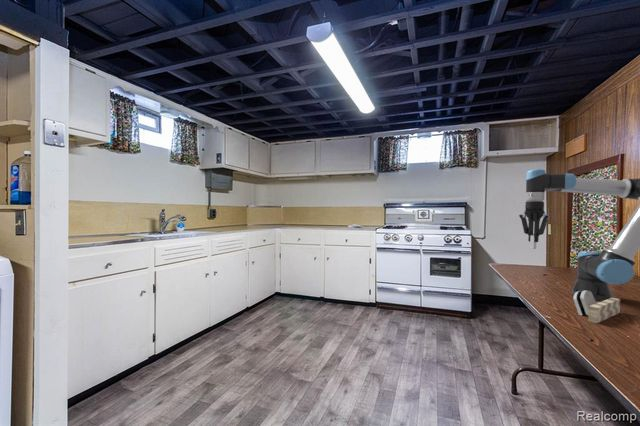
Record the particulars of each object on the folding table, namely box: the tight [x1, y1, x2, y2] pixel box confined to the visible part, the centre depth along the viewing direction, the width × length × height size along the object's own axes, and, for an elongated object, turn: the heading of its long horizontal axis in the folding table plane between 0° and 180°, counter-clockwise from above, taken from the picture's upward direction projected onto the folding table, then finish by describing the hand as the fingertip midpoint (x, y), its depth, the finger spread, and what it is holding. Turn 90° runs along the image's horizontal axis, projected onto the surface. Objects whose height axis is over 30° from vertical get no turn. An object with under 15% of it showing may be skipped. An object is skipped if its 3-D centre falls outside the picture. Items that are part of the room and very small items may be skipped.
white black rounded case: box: [572, 291, 597, 316], centre depth 129 cm, size 17×5×10 cm, turn 128°
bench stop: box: [587, 296, 621, 324], centre depth 123 cm, size 26×2×6 cm, turn 121°
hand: (533, 248), depth 148 cm, fingers closed
